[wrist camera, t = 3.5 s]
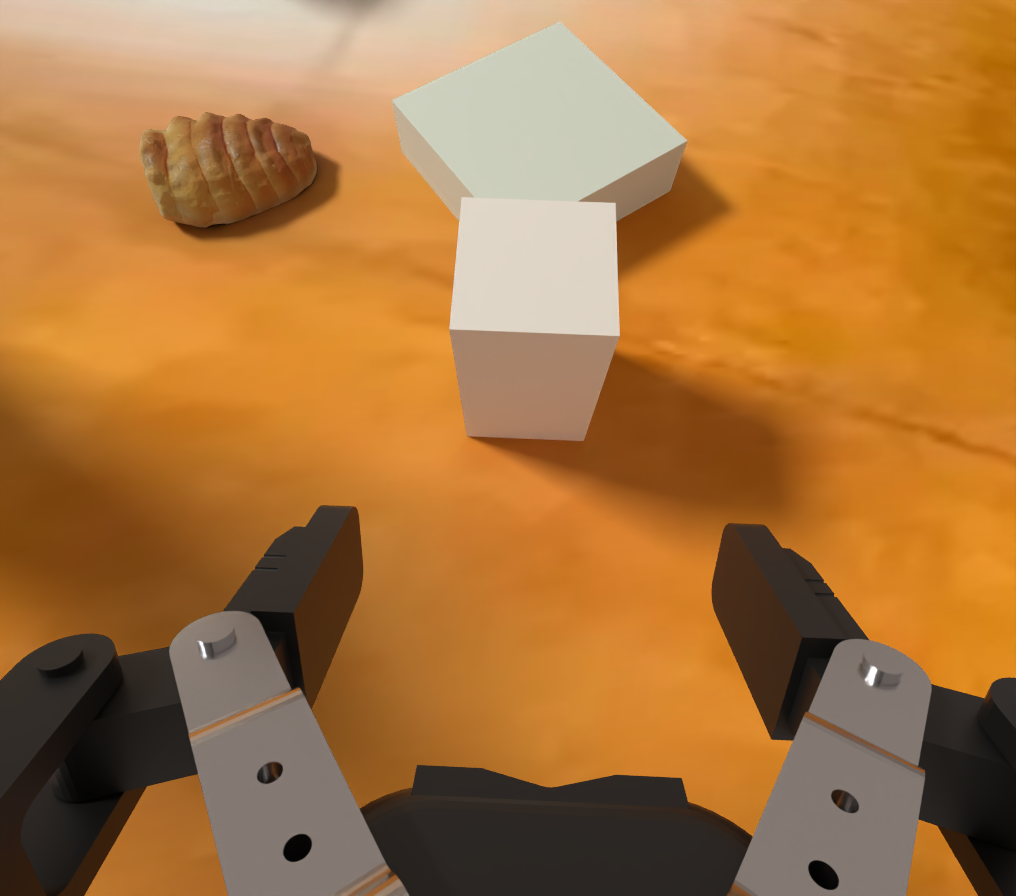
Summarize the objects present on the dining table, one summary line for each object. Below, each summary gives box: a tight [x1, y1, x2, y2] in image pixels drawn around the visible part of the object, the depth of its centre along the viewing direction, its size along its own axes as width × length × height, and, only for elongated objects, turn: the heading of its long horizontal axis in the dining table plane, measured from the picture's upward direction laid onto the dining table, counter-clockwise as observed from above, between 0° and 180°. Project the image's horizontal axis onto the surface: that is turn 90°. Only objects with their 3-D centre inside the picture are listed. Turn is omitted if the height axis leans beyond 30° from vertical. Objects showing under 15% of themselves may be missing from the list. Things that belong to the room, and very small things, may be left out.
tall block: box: [450, 197, 620, 441], centre depth 26 cm, size 6×6×10 cm
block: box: [392, 22, 687, 222], centre depth 35 cm, size 12×12×4 cm
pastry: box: [140, 112, 317, 228], centre depth 34 cm, size 9×7×4 cm
